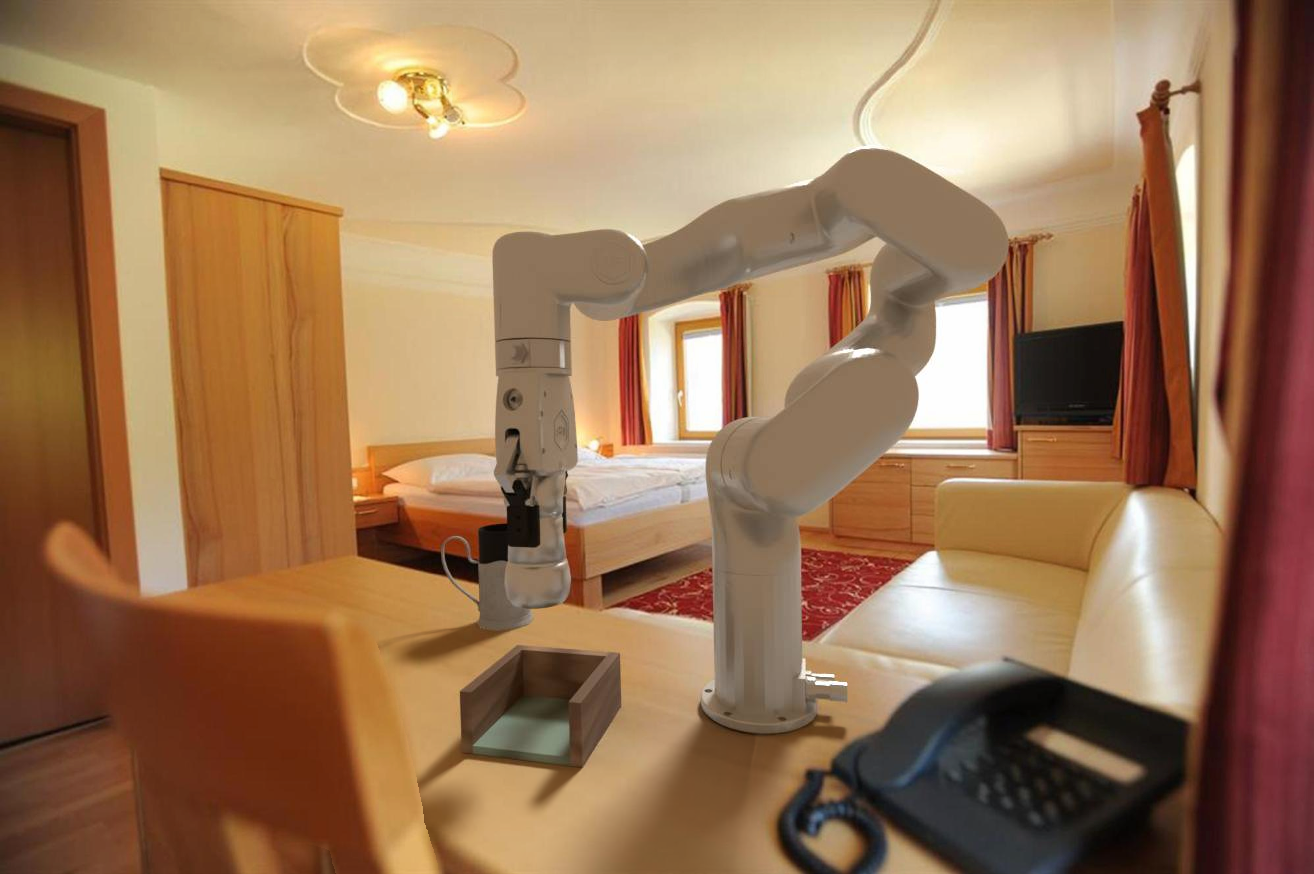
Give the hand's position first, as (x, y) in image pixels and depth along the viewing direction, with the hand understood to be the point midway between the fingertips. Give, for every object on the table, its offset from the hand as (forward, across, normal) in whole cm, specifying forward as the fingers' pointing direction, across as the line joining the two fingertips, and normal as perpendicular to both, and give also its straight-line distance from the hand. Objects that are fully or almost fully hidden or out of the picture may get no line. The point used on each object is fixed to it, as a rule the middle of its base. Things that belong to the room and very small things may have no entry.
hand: (538, 537), depth 62 cm
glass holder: (+20, +30, +23) cm, 42 cm away
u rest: (+20, 0, 0) cm, 20 cm away
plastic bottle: (+7, 0, 0) cm, 7 cm away
